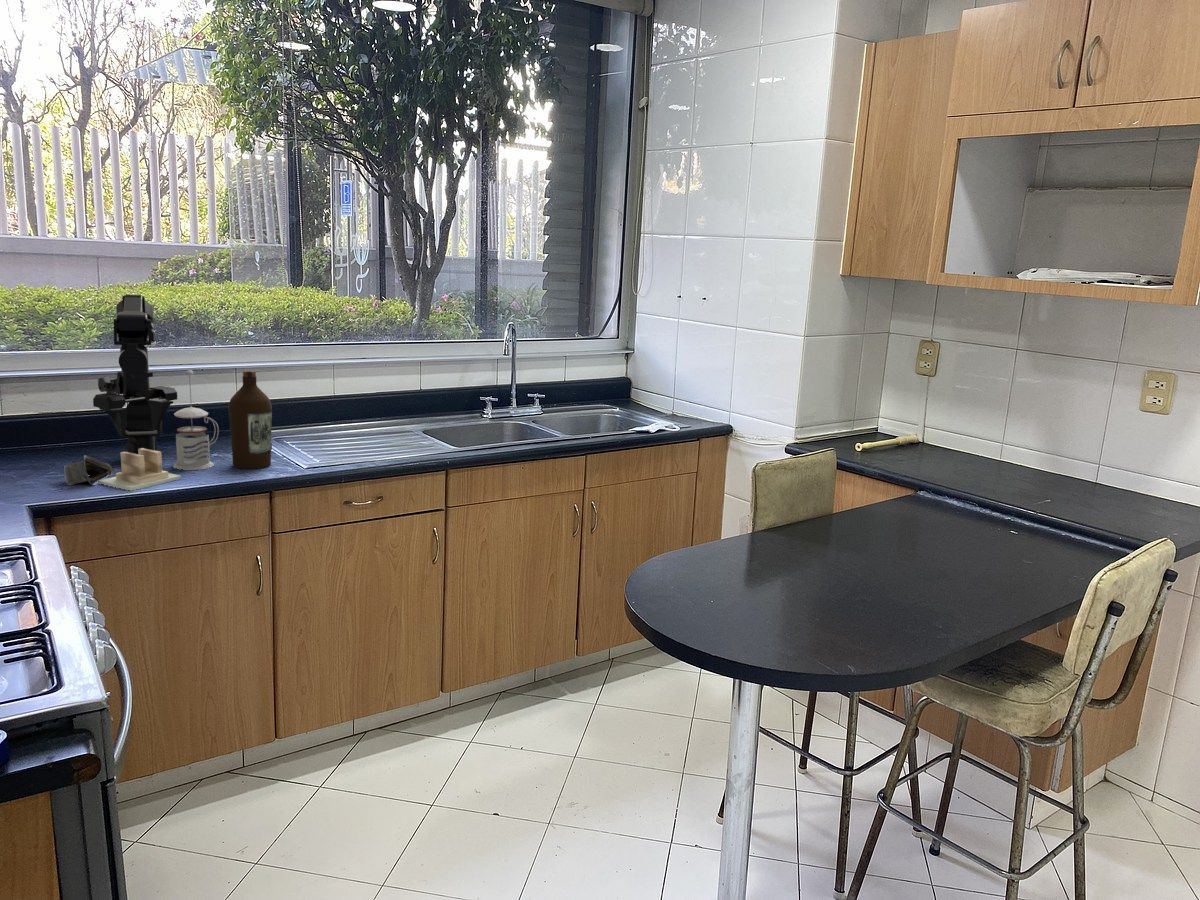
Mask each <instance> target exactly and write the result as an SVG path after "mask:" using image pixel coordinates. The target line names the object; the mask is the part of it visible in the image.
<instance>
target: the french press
mask: <svg viewBox="0 0 1200 900" xmlns="http://www.w3.org/2000/svg"><path fill="white" fill-rule="evenodd" d="M185 375H186V376H188V377H189V378H188V379H189V381H191V376H194V371H193V370H191V369H189V370H186V371H185ZM191 386H192V385H191V383H189V397H190V398H189V399H190V403H192V392H191V391H192V389H191ZM173 415H174V417H176V418H180V419H190V421H191V426H190V425H187V426H182V427H178V428H177V429H176V431H177V432H178V433H176V434H175V445H176V462H175V463H174V464H173V465H174V466H172V468H174V469H176V468H177V469H176V470H181V469H183V470H184V471H196V470H197V469H198V470H204V469H205V470H206V469H210V468H211V467H214V466H215V464H214V463H213V462H212V461H211V459H210V458H211V457H210V452H211V451H210V446H212V445H213V444H215V443H216V441H217V440H218V438H219V434H220V431H219V430H220V428H219V425H218V423H217V421H216V420H214V419H213V418H211V417H208V415H209V412H208V411H206V410H204V409H202V408H199V407H194V406H192V405H190V406H189V407H185V408H181V409H179V410H177V411H176V412H174V413H173ZM199 418H200V419H201V418H203V421H204V423H205V424H208V423H209V421H210V422H212V424H213V427H214V433H213V436H212V438H211V440H210V437H209V433H206V431H207V430H208V428H207V427H205V426H200V425H199V426H198V425H197V426H196V425H193V419H199ZM216 428H217V430H216ZM216 431H217V434H216ZM189 436H190V437H189ZM215 436H216V438H215ZM213 440H214V441H213ZM212 441H213V442H212ZM186 447H187V448H186ZM193 451H194V452H193ZM186 452H187V453H186ZM209 467H210V468H209ZM183 470H182V471H183Z"/></svg>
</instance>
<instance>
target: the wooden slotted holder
mask: <svg viewBox="0 0 1200 900" xmlns="http://www.w3.org/2000/svg"><path fill="white" fill-rule="evenodd" d="M162 458H163V456H162V451H159V450H157V451H154V450H149V449H144V448H141V449H138V454H134V453H129V452H127V451H121V452H120V467H121V471H119V472H116V473H115V477H116V479H117V480H121V481H126V482H130V483H135V484H144V483H148V482H152V481H157V480H161V479H165V478H169V477H168V473H169V471H166V470H163V459H162Z"/></svg>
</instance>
